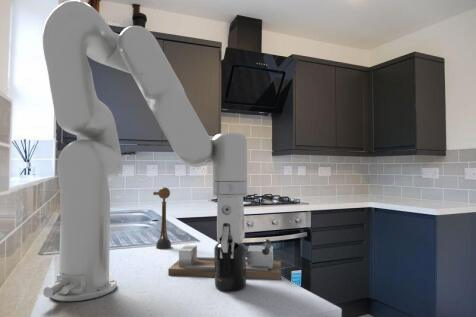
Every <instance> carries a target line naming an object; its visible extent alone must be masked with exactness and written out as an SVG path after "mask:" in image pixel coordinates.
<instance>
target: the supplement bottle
mask: <svg viewBox="0 0 476 317" xmlns="http://www.w3.org/2000/svg"><path fill="white" fill-rule="evenodd" d="M220 239H221V238H220ZM229 242H232V241H229ZM229 247H230V246H229ZM220 249H221V244H219V243H218V242H217V243H216V244H215V246H214V251H213V252H214V261H215V277H214V286H215V288H216V289H217V290H219V291H220V292H221V291H222V292H227V293H228V292H229V293H230V292H237V291H241V290H243V289H244V288H245V287H246V286H247V278H246V257H247V254H246V245H245V244H244V243H243V242H241V244H239V245H238V244H237V243H235V247H234V258H235V278H221V277H220ZM230 249H231V247H230Z"/></svg>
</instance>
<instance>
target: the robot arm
mask: <svg viewBox="0 0 476 317" xmlns="http://www.w3.org/2000/svg"><path fill="white" fill-rule="evenodd" d="M103 17H104V16H102V14H101V13H99V11H98V10H96V8H94V7H93V6H91V5H90V4H88V3H86V2H84V1H82V0H66V1H64V2H63V3H60V4H58V5H57V7H55V8H54V9H53V10H52V12H50V14H49V16H48V17H47V19H46V20H45V23H44V27H43V31H42V50H43V56H44V59H45V65H46V69H47V75H48V82H49V88H50V93H51V99H52V104H53V111H54V116H55V120H56V122H57V125H58V126H59V127H60V128H61V129H62V131H64V132H67V133H69V134H71V135H75V136H76V140H74V141H71V142H70V143H68V144H67V145H65V146H64V147H63V149H62V150H61V151H60V153H59V155H58V158H57V166H56V169H57V171H56V172H57V177H58V183H59V184H58V185H59V193H60V194H59V195H60V196H59V197H60V198H59V199H60V210H59V211H60V214H59V215H60V218H59V219H60V222H59V224H60V227H59V258H58V259H59V260H58V262H59V266H58V267H59V268H58V274H57V275H56V281H55V282H54V283H52V284H50V285H47V286H46V287H45V288H44V289H43V292H42V293H43V295H44V297H45V298H51V299H53V300H55V301H59V302H80V301H85V300H86V301H88V300H92V299H96V298H99V297H102V296H105V295H108V294H109V293H112V292H113V291H114V290H115V289H116V288H117V285H118V284H117V279H116V278H114V277H112V276H110V248H111V247H110V246H111V245H110V244H111V243H110V242H111V239H110V238H111V237H110V236H111V235H110V234H111V198H110V197H111V195H110V194H111V193H110V186H109V182H112V181H114V180H115V179H116V178H117V177H118V176H119V174H120V172H121V171H122V167H123V156H122V151H121V147H120V142H119V140H120V139H119V134H118V131H117V126H116V121H115V118H114V114H113V113H112V111H111V109H110V108H109V106H107V105H106V103H104V102H102V101H101V100H100V99H99V98H98V95H97V92H96V88H95V83H94V77H93V71H92V68H91V65H90V62H89V59H88V58H90V60H92V61H95V62H97V63H99V64H102V65H104V66H108V67H110V68H113V69H116V70H120V71H122V72H125V73H128V74H130V75H131V76H132V78H133V79H134V81H135V83H136V85H137V87H138V88H139V90H140V92H141V94H142V96H143V98H144V100H145V102H146V104H147V105H148V108H149V110H150V111H151V112H152V113H153V116H154V117H155V119H156V121H157V122H158V125H159V127H160V128H161V130H162V132H163V134H164V136H165V138H166V140H167V141H168V143H169V145H170V147H171V148H172V150H173V152H174V154H175V155H176V157H177V158H178V159H179V161H181V163H183V164H185V165H187V166H189V167H194V168H199V167H206V166H212V197H214V198H217V206H216V207H217V209H216V210H217V211H216V239H217V244H218V243H219V244H221V249H220V277H221V278H235V258H234V247H235V243H237V244H238V245H239V244H241V243H243V241H244V239H245V236H246V235H245V234H246V232H245V206H244V204H245V203H244V197H248V139H247V137H246V135H244V133H238V132H221V133H217V134H216V135H213V136H212V135H209V133H208V131H207V130H206V128H205V127H204V125H203V123H202V121H201V119H200V118H199V116H198V114H197V112H196V111H195V108H194V107H193V105H192V103H191V102H190V100H189V98H188V96H187V95H186V91H185V89H184V86H183V85H182V83H181V81H180V80H179V78H178V76H177V74H176V72H175V70H174V69H173V67H172V65H171V63H170V62H169V60H168V58H167V56H166V54H165V53H164V51H163V48H162V47H161V45H160V44H159V42H158V40H157V39H156V37H155V35H153V33H152V32H151V31H150V30H149V29H148V28H145V27H143V26H141V25H131V26H128V27H126V28H124V29H123V30H122V31H121V32H120V34H119V33H117V32H114V31H113V29H111V28H112V27H110V25H109V24H108V23H107V22H106V20H105V19H104V18H103ZM220 238H221V239H220ZM229 241H232V242H229ZM229 246H230V247H231V249H230V247H229Z"/></svg>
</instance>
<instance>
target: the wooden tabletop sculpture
mask: <svg viewBox="0 0 476 317" xmlns="http://www.w3.org/2000/svg"><path fill="white" fill-rule="evenodd" d="M170 195H171V190H170V189H169V187H165V186H164V187H161V188H160V189H159V190H158V191H153V196H158V197H159V198H160V199H162V201H161V226H160V235H159V239H158V240H157V241H156V245H155V248H156V250H157V249H158V250H168V249H170V248H172V243H171V240H170V239H169V238H168V232H167V201H166V199H168V198H169V197H170Z"/></svg>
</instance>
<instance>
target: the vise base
mask: <svg viewBox="0 0 476 317" xmlns="http://www.w3.org/2000/svg"><path fill="white" fill-rule="evenodd" d="M281 262H282V261H281V260H273V269H268V268H253V267H247V258H246V279H258V280H259V279H261V280H262V279H263V280H264V279H265V280H282V263H281ZM167 270H168V271H167V273H168V274H167V275H168V276H184V277H188V276H189V277H206V278H207V277H208V278H209V277H210V278H215V261H214V257H208V256H205V257H204V256H198V245H197V244H195V245H193V244H192V245H191V244H186V245H184V246H183V247H181V248H180V249H179V250H178V260H177V261H176V262H174V263H173V264H172V265H171V266H170V267H169V268H167Z"/></svg>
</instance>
